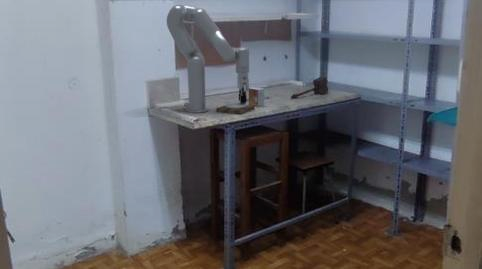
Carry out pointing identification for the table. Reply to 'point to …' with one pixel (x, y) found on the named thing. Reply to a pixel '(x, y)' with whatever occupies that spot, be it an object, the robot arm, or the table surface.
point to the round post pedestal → (236, 105)
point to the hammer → (316, 87)
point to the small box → (256, 97)
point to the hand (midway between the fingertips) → (242, 101)
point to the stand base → (235, 111)
